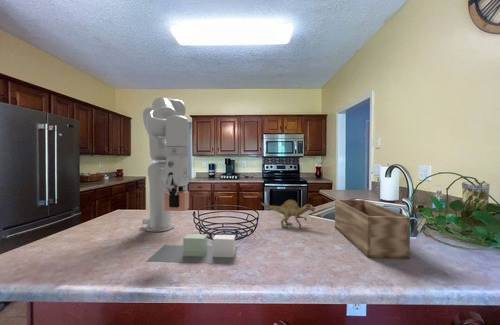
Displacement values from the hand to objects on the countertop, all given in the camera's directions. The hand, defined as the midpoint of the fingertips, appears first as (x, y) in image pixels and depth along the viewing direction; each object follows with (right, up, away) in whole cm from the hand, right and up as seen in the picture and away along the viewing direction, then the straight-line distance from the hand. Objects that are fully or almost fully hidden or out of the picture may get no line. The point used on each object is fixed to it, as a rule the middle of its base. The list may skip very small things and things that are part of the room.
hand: (177, 205), depth 74 cm
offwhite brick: (+16, -17, 0) cm, 23 cm away
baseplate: (+6, -18, 0) cm, 19 cm away
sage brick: (+6, -17, 0) cm, 18 cm away
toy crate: (+73, -18, +15) cm, 77 cm away
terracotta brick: (0, -1, 0) cm, 1 cm away
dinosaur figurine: (+44, -18, +35) cm, 59 cm away
